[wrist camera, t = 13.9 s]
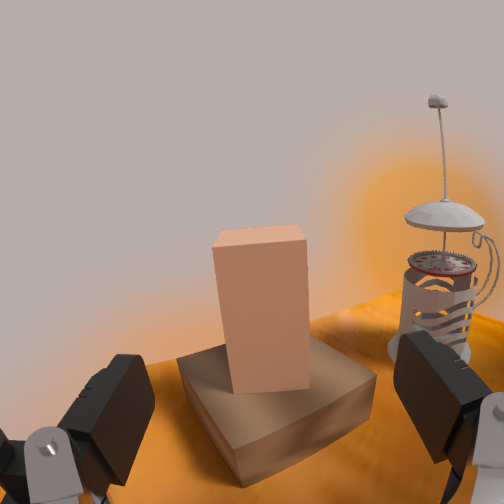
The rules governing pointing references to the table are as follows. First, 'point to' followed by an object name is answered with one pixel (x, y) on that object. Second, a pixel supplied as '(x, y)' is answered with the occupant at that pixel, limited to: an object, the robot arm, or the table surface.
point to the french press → (441, 272)
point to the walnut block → (276, 410)
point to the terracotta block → (264, 307)
